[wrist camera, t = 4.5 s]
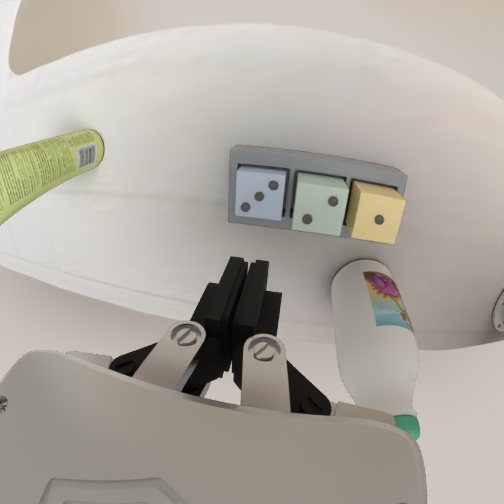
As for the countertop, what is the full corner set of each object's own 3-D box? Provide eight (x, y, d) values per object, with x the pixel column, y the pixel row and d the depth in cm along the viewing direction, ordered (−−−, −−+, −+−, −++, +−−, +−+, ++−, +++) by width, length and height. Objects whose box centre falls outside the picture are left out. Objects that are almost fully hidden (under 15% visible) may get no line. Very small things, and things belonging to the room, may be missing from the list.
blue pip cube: (287, 166, 25) (285, 176, 21) (283, 206, 27) (280, 221, 23) (244, 162, 25) (236, 171, 22) (242, 202, 27) (234, 216, 24)
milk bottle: (345, 317, 34) (357, 466, 17) (318, 275, 31) (321, 446, 14) (399, 292, 31) (443, 440, 14) (378, 245, 28) (437, 410, 11)
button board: (397, 168, 24) (407, 176, 21) (382, 231, 27) (389, 244, 25) (237, 145, 25) (230, 149, 23) (234, 210, 29) (227, 222, 26)
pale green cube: (342, 178, 23) (349, 190, 20) (335, 219, 25) (339, 237, 22) (298, 171, 23) (297, 182, 20) (292, 213, 25) (291, 230, 22)
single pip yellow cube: (393, 188, 22) (407, 201, 19) (383, 227, 24) (394, 245, 21) (353, 180, 23) (361, 192, 20) (345, 221, 25) (351, 238, 22)
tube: (70, 155, 28) (-53, 219, 11) (80, 120, 26) (-57, 170, 9) (98, 174, 29) (-29, 253, 12) (111, 138, 27) (-36, 201, 10)
